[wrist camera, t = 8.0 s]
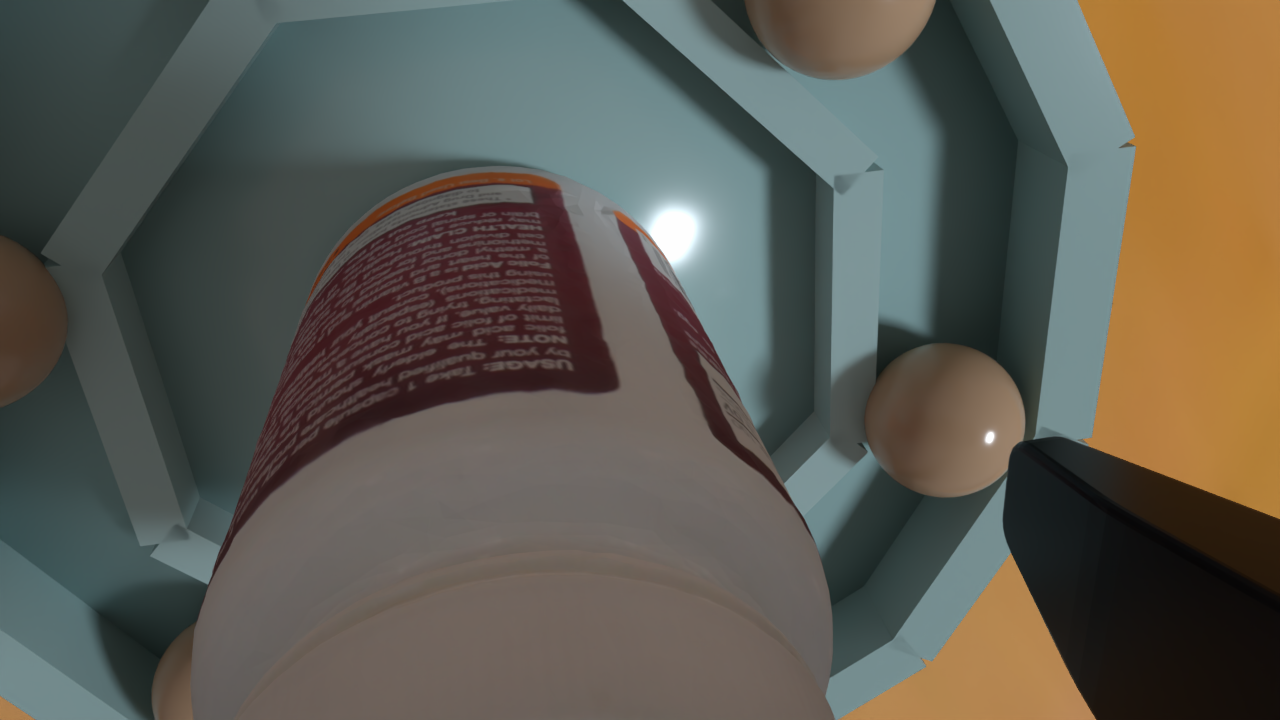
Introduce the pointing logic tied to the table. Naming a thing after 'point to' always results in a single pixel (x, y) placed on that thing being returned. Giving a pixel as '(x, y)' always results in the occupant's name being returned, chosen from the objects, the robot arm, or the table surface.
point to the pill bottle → (509, 488)
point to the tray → (597, 158)
